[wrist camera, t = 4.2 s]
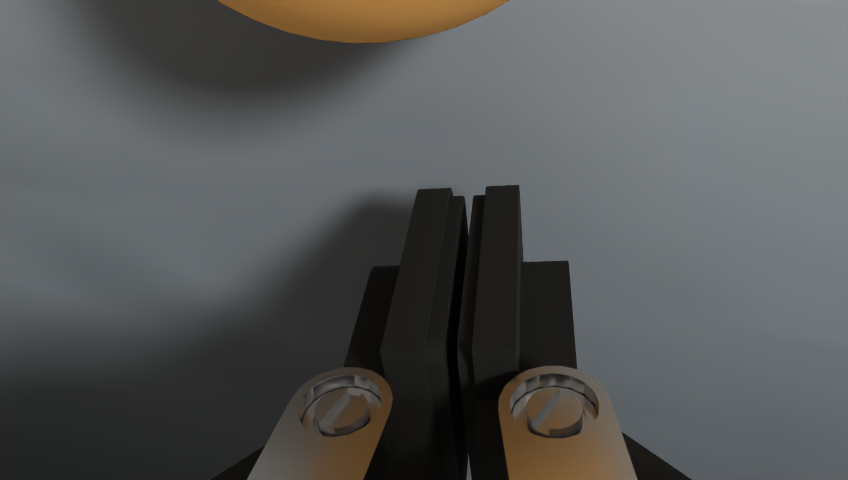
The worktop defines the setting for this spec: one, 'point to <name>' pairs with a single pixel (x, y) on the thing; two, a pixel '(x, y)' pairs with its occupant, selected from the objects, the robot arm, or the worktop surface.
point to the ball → (363, 17)
